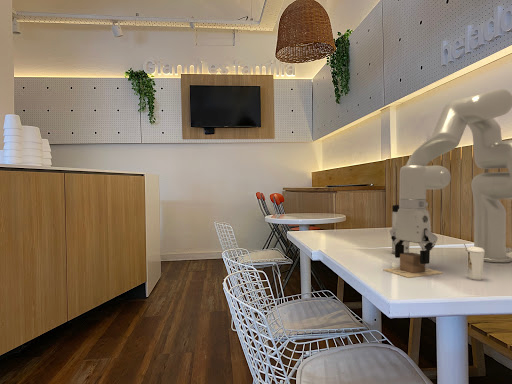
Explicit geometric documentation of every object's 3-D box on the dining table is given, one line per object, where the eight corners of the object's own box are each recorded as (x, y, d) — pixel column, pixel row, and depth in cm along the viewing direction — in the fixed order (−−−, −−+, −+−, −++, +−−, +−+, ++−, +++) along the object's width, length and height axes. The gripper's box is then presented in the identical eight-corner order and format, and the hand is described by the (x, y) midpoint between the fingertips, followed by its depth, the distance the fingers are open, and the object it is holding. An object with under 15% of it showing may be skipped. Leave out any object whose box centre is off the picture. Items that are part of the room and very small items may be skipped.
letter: (415, 266, 112) (415, 265, 112) (442, 273, 102) (442, 272, 102) (382, 270, 106) (382, 269, 106) (408, 277, 97) (408, 276, 97)
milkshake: (459, 276, 99) (459, 242, 99) (478, 276, 99) (478, 242, 99) (468, 280, 94) (469, 245, 94) (488, 280, 94) (488, 245, 94)
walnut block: (411, 268, 108) (411, 252, 108) (425, 271, 103) (425, 255, 103) (399, 269, 106) (400, 253, 106) (412, 273, 101) (412, 256, 101)
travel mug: (412, 255, 129) (412, 203, 129) (393, 255, 131) (394, 203, 130) (408, 252, 135) (408, 203, 135) (390, 252, 137) (390, 202, 136)
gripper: (446, 206, 98) (445, 265, 98) (399, 204, 114) (399, 254, 114) (427, 206, 95) (426, 267, 95) (382, 204, 111) (381, 256, 111)
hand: (411, 260), depth 104 cm, fingers open, 9 cm apart
